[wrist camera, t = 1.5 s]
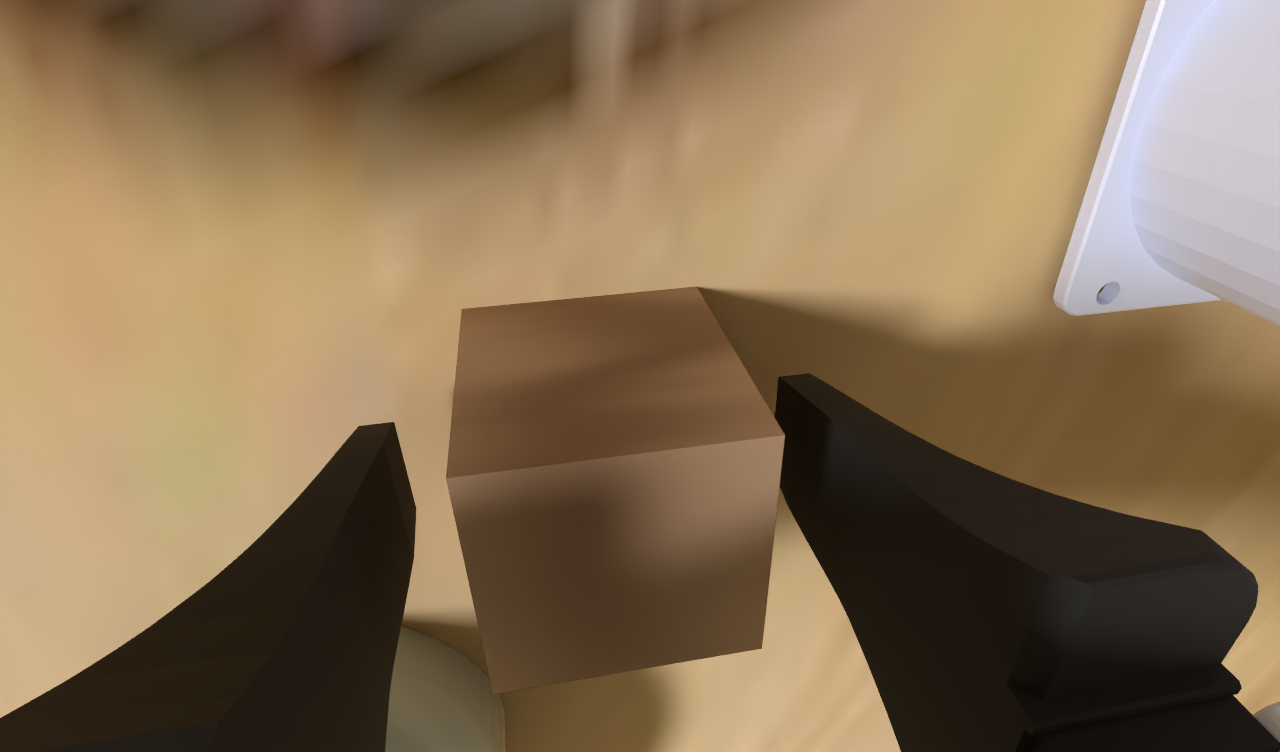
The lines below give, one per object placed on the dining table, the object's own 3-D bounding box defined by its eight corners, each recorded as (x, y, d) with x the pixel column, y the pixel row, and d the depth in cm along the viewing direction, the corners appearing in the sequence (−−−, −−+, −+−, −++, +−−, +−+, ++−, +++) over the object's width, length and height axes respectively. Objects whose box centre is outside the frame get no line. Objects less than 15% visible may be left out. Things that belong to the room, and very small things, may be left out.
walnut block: (695, 285, 14) (785, 435, 9) (692, 465, 16) (761, 648, 12) (461, 307, 13) (446, 478, 9) (494, 491, 15) (493, 694, 11)
